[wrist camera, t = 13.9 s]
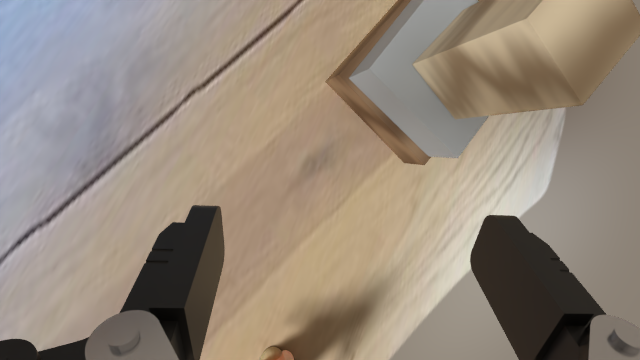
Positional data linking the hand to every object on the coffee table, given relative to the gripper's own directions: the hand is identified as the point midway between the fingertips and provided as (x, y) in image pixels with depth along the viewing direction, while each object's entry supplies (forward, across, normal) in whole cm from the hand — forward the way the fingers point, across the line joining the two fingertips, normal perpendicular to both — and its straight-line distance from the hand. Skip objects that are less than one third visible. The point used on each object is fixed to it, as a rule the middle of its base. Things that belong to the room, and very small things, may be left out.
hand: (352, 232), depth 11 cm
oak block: (+19, -10, 0) cm, 22 cm away
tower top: (+23, -9, +1) cm, 24 cm away
